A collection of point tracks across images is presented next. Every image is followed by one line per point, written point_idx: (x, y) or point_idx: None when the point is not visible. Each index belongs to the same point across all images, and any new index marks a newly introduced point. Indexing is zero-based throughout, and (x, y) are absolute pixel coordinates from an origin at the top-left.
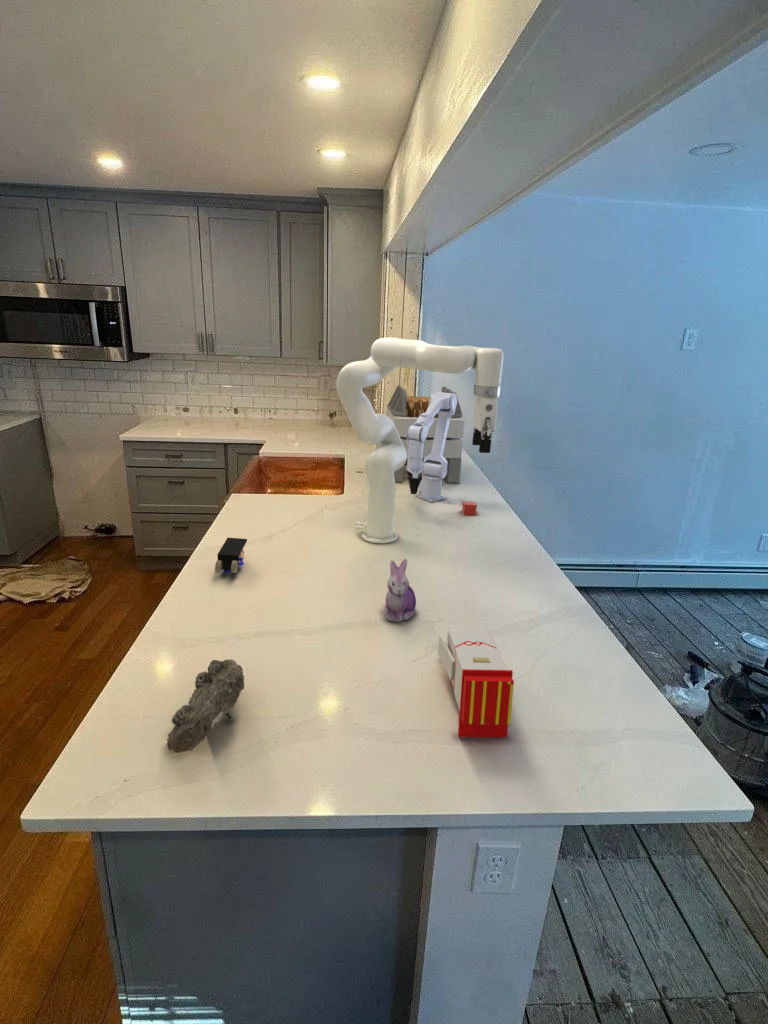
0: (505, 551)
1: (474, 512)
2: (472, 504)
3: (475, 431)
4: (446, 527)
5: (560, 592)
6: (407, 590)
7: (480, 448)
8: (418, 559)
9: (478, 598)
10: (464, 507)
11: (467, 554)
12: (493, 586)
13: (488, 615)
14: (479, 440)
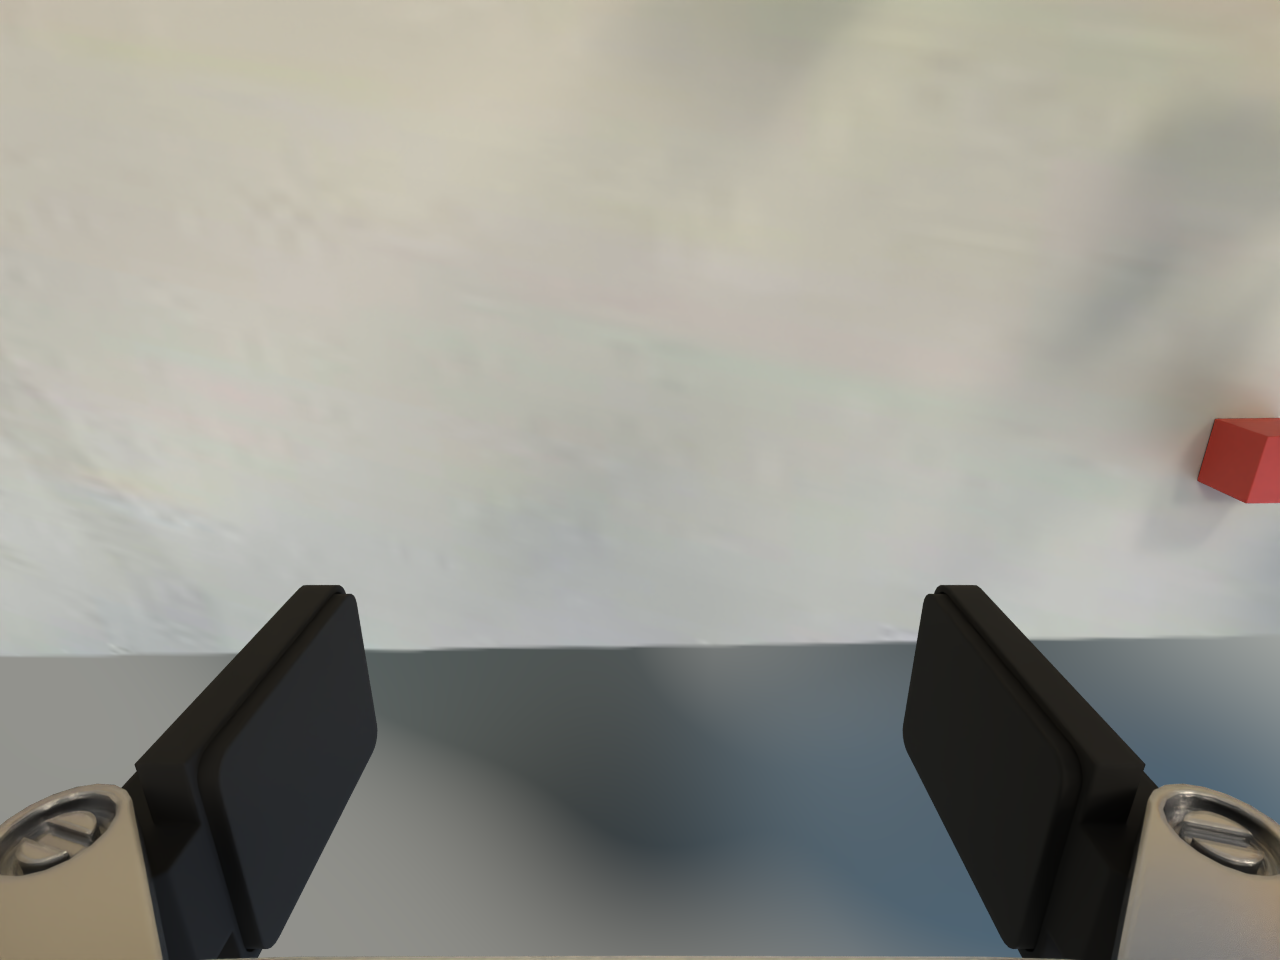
0: (702, 516)
1: (1211, 478)
2: (1262, 481)
3: (1139, 829)
4: (1041, 277)
5: None
6: None
7: (275, 635)
8: (588, 28)
9: (197, 282)
10: (1261, 430)
11: (664, 326)
12: (327, 375)
13: (56, 293)
14: (946, 750)
